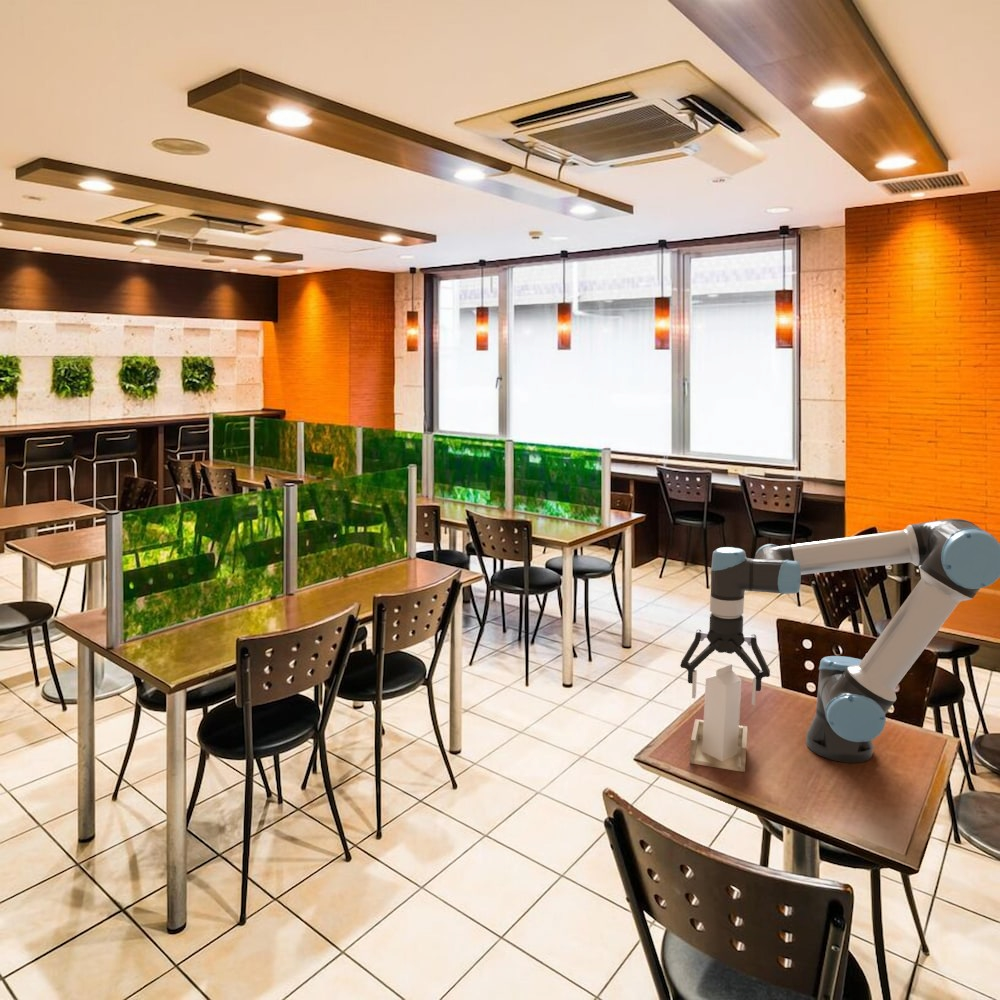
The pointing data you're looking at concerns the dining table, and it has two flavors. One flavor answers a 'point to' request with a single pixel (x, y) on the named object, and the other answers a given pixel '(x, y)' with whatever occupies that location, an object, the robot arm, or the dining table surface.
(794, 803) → the dining table surface
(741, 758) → the u rest
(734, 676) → the milk
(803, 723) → the dining table surface
